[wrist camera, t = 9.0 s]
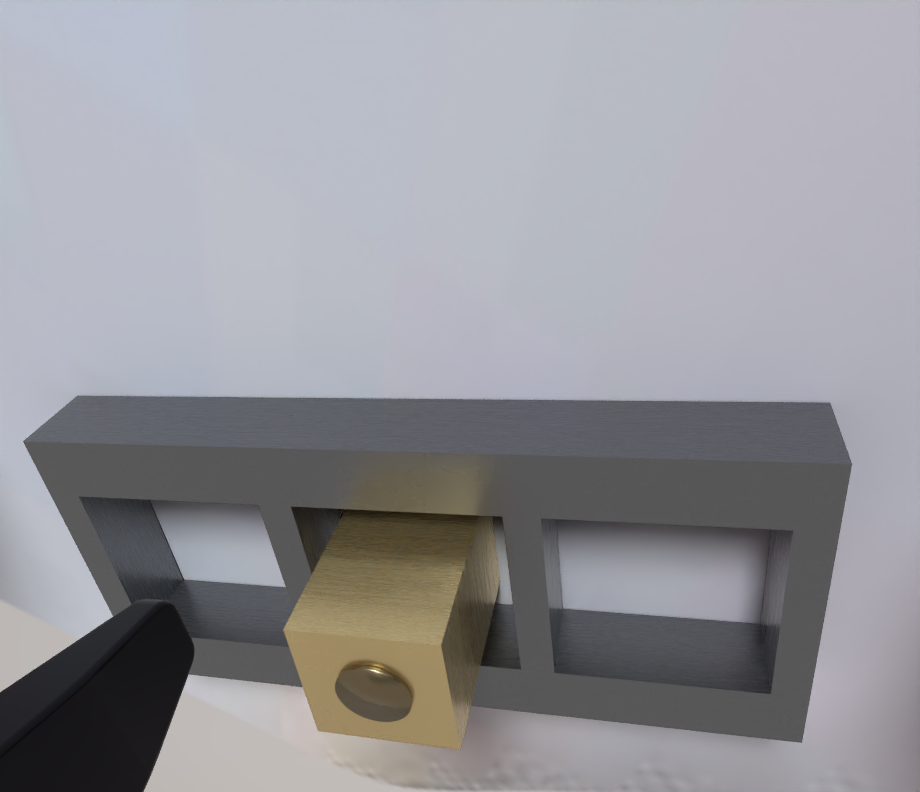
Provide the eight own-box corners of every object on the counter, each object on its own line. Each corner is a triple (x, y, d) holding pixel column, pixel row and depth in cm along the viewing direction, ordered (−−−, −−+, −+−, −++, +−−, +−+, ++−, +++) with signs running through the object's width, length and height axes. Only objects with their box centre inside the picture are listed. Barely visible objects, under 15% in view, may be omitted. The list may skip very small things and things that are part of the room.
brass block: (488, 483, 22) (439, 650, 17) (500, 580, 24) (459, 755, 19) (361, 477, 23) (280, 634, 18) (383, 571, 25) (316, 735, 20)
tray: (829, 402, 19) (852, 463, 17) (789, 670, 24) (802, 742, 22) (77, 396, 24) (23, 441, 22) (176, 615, 29) (140, 668, 27)
